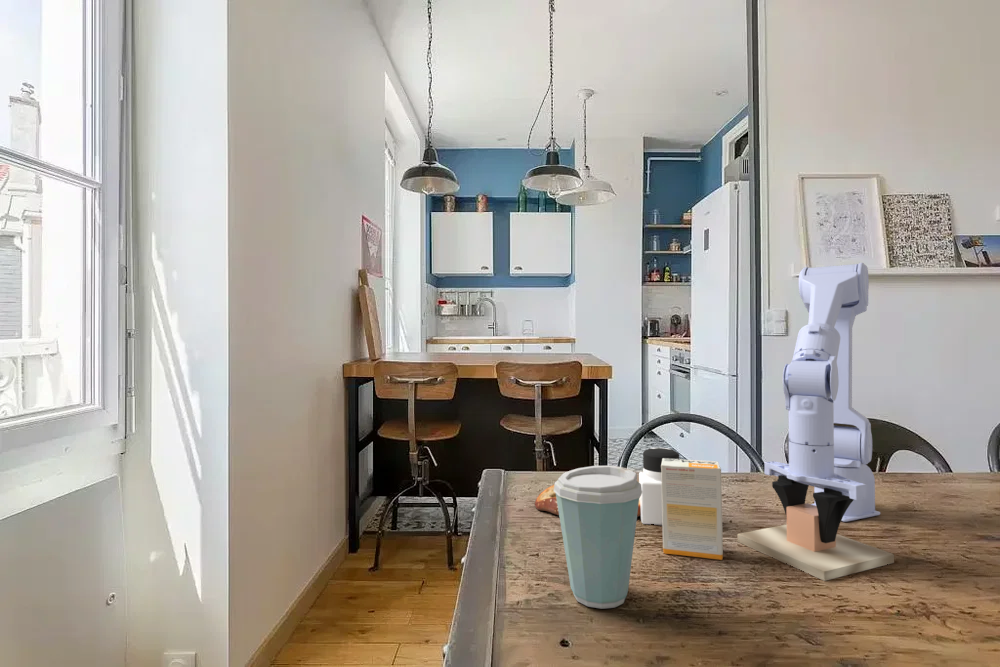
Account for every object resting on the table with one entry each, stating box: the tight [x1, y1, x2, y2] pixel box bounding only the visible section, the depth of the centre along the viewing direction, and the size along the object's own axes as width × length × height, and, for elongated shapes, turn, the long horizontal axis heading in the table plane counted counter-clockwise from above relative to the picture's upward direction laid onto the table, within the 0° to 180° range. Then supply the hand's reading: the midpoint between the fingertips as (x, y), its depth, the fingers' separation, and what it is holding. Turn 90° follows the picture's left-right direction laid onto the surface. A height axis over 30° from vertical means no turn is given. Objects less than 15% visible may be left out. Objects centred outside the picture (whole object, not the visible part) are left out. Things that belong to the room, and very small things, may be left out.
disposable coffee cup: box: [553, 465, 642, 610], centre depth 64 cm, size 11×11×15 cm
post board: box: [737, 523, 895, 582], centre depth 76 cm, size 14×14×4 cm
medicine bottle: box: [638, 447, 680, 526], centre depth 91 cm, size 7×7×12 cm
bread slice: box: [534, 484, 641, 518], centre depth 96 cm, size 18×18×4 cm
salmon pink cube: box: [786, 502, 836, 552], centre depth 76 cm, size 4×4×5 cm
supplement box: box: [661, 458, 724, 561], centre depth 77 cm, size 8×5×13 cm, turn 71°
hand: (811, 535), depth 76 cm, fingers closed on salmon pink cube, 4 cm apart
